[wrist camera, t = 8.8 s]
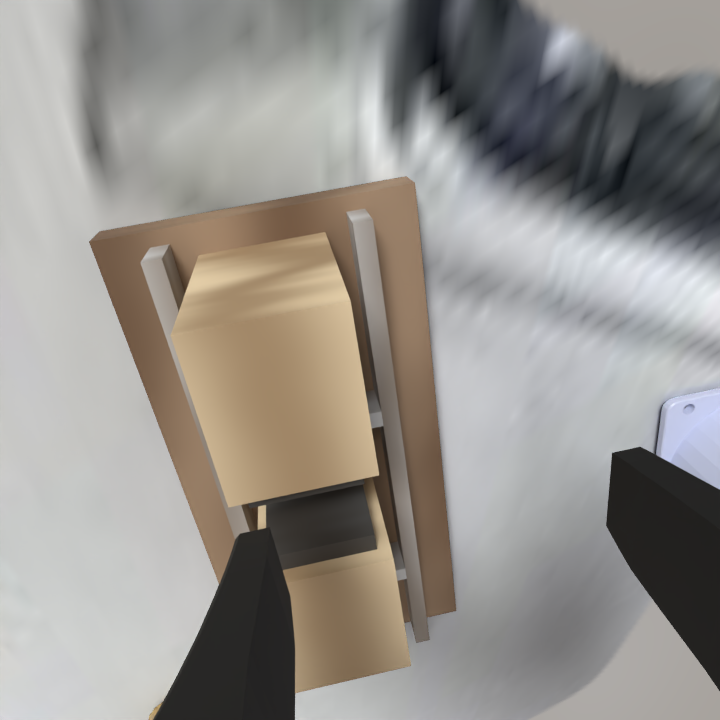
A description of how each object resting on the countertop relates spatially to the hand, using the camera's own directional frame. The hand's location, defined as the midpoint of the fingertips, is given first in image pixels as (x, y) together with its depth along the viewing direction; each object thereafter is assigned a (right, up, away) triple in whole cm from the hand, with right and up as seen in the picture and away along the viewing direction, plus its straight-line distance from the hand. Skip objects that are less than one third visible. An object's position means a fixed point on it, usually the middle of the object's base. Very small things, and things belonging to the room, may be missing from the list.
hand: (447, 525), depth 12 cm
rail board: (-4, 0, +11) cm, 12 cm away
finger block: (-3, -2, +11) cm, 12 cm away
